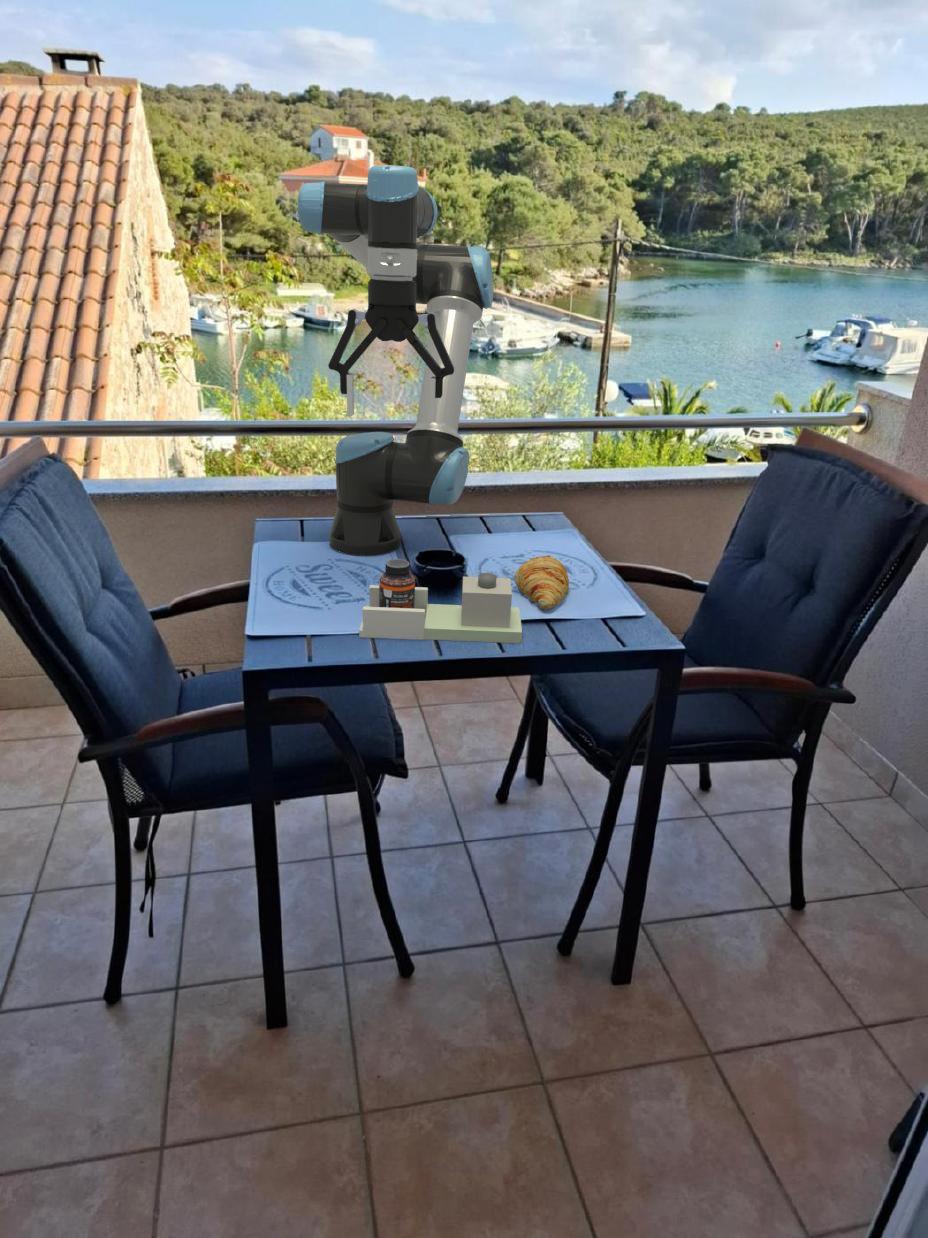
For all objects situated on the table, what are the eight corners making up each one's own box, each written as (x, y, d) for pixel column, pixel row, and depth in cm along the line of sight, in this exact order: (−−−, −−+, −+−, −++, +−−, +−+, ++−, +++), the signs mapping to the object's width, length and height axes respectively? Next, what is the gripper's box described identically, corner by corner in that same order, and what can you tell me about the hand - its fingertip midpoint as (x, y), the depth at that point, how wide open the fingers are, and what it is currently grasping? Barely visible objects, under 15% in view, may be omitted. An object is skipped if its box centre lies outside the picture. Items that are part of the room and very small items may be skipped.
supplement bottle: (390, 635, 137) (391, 572, 133) (372, 622, 142) (372, 560, 137) (421, 627, 141) (422, 565, 136) (402, 615, 145) (402, 554, 140)
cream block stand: (366, 611, 146) (366, 559, 142) (518, 617, 146) (522, 566, 142) (359, 637, 136) (358, 582, 132) (521, 643, 136) (525, 589, 132)
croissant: (561, 632, 150) (585, 597, 147) (513, 607, 147) (537, 571, 144) (547, 585, 169) (569, 553, 166) (505, 562, 166) (526, 529, 163)
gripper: (307, 275, 126) (312, 417, 135) (472, 282, 126) (466, 423, 135) (316, 273, 133) (320, 408, 142) (472, 280, 133) (466, 414, 142)
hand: (391, 416), depth 138 cm, fingers open, 13 cm apart
